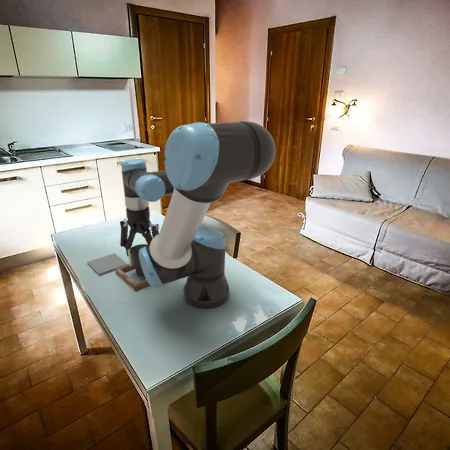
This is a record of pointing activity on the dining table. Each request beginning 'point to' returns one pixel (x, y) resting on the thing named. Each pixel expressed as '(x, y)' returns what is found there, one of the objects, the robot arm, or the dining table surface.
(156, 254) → the robot arm
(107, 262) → the pad
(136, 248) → the coffee cup
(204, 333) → the dining table surface
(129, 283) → the wooden square frame
